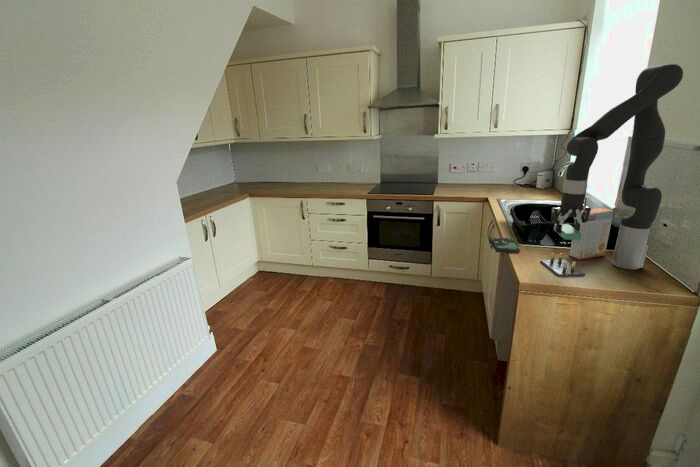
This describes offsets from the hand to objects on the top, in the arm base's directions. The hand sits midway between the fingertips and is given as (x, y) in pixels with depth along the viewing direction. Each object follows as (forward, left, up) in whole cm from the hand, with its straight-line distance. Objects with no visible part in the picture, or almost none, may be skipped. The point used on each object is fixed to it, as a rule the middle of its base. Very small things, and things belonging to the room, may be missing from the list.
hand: (566, 232), depth 135 cm
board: (0, 0, -1) cm, 1 cm away
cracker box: (-18, -12, -16) cm, 27 cm away
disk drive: (+13, -26, -16) cm, 33 cm away
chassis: (0, +1, -16) cm, 16 cm away
